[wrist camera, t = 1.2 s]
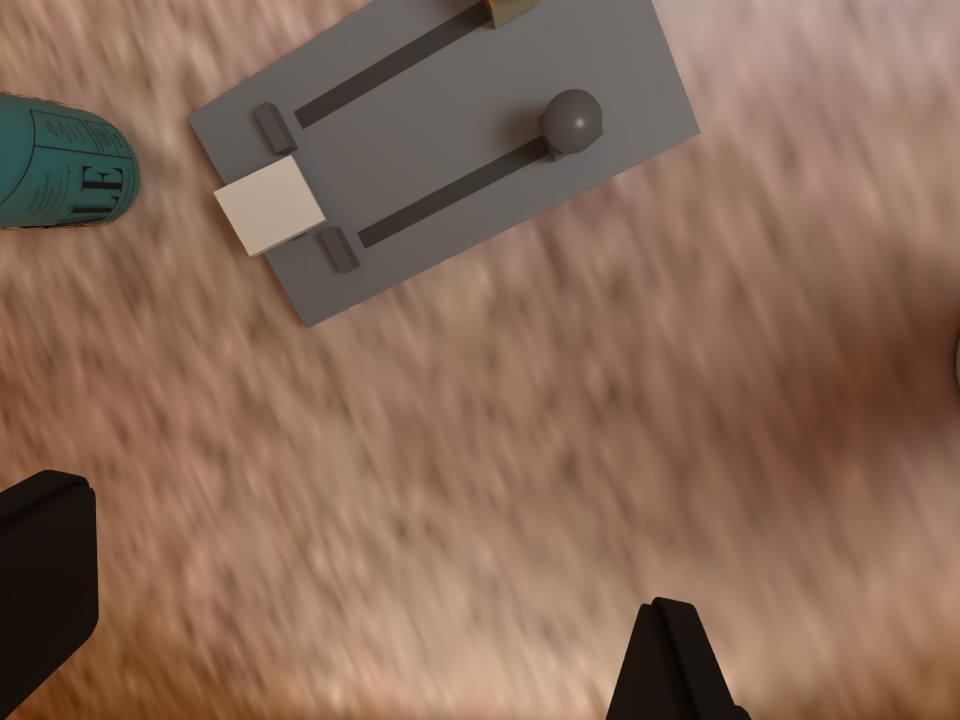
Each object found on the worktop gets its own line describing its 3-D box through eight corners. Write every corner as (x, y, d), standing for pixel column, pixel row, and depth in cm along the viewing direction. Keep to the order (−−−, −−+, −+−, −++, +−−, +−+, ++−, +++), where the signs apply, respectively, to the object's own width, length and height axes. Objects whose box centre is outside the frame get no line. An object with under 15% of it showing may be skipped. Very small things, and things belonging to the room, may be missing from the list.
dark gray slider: (580, 95, 28) (588, 77, 24) (600, 144, 28) (611, 134, 24) (533, 120, 28) (534, 107, 24) (554, 168, 29) (557, 162, 25)
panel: (594, -114, 27) (602, -155, 24) (689, 137, 30) (708, 129, 27) (207, 122, 32) (172, 113, 29) (318, 322, 34) (298, 333, 31)
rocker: (294, 159, 29) (290, 154, 28) (327, 221, 30) (325, 219, 29) (219, 194, 29) (213, 192, 28) (254, 256, 30) (249, 256, 29)
